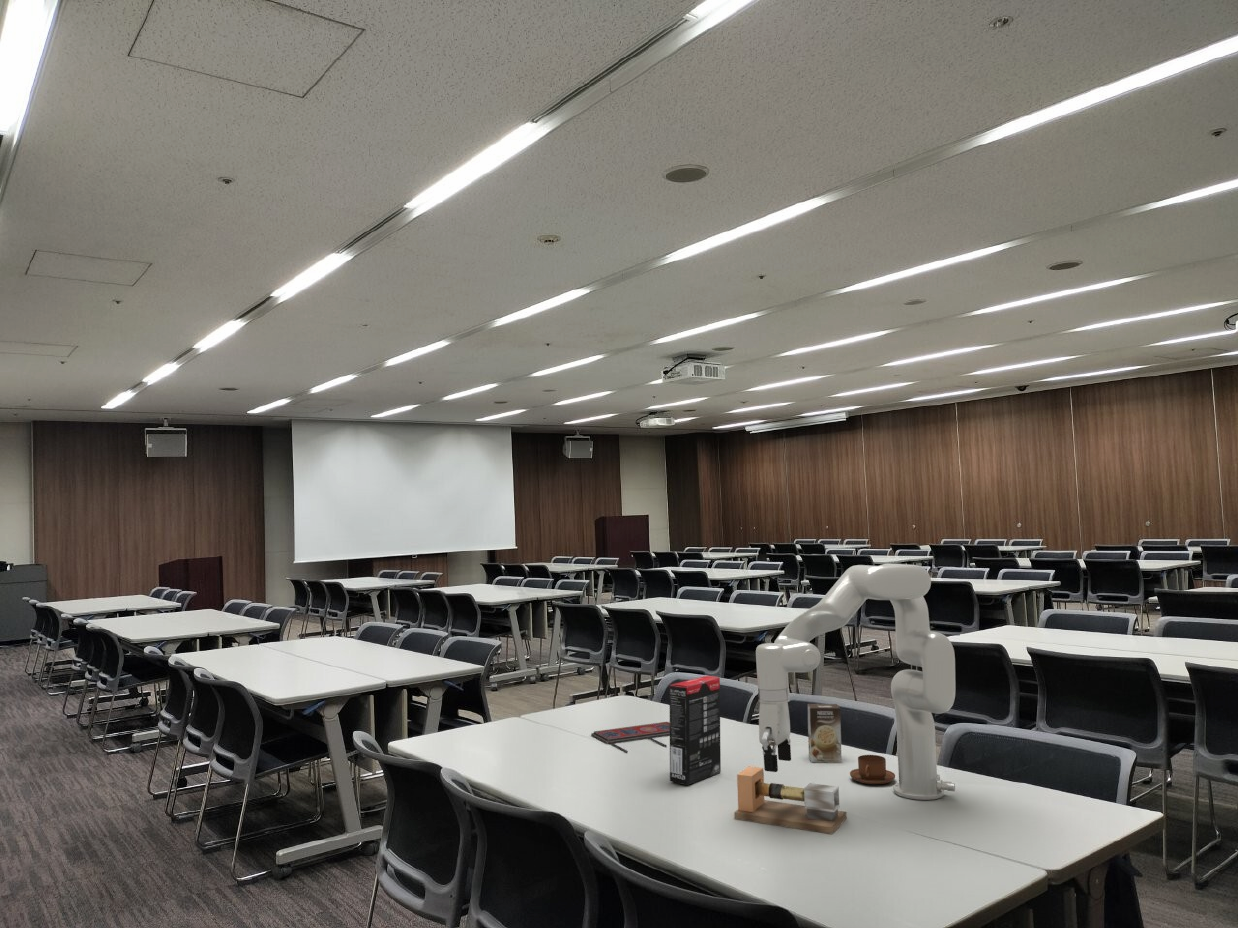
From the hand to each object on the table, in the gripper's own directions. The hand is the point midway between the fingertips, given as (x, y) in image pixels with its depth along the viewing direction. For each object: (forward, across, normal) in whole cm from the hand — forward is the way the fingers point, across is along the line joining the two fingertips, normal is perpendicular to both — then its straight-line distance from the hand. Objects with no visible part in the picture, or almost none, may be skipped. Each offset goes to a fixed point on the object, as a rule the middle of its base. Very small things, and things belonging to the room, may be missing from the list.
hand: (778, 765), depth 212 cm
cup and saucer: (+14, -38, +13) cm, 43 cm away
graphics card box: (+12, -20, -32) cm, 40 cm away
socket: (+10, +1, -7) cm, 13 cm away
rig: (+12, +1, +3) cm, 12 cm away
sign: (+13, -54, -66) cm, 86 cm away
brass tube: (+8, +1, 0) cm, 8 cm away
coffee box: (+13, -53, -5) cm, 55 cm away
